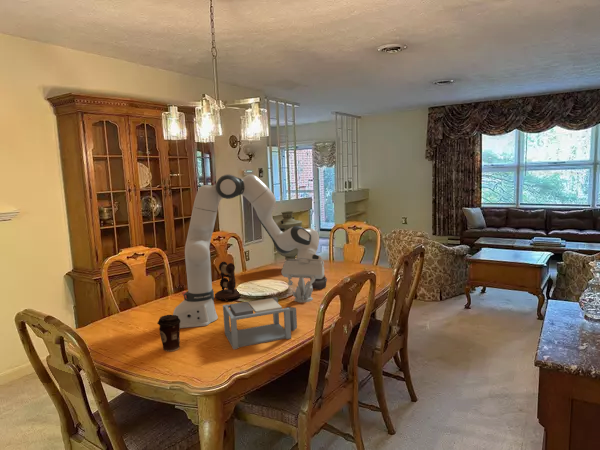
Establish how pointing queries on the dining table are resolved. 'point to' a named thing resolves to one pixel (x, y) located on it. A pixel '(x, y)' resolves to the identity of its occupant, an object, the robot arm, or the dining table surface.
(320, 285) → the cupcake
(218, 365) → the dining table surface
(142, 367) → the dining table surface
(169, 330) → the coffee cup
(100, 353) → the dining table surface
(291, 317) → the stone
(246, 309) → the trapdoor
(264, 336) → the frame
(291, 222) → the samovar
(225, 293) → the coffee pod holder
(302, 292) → the crystal
